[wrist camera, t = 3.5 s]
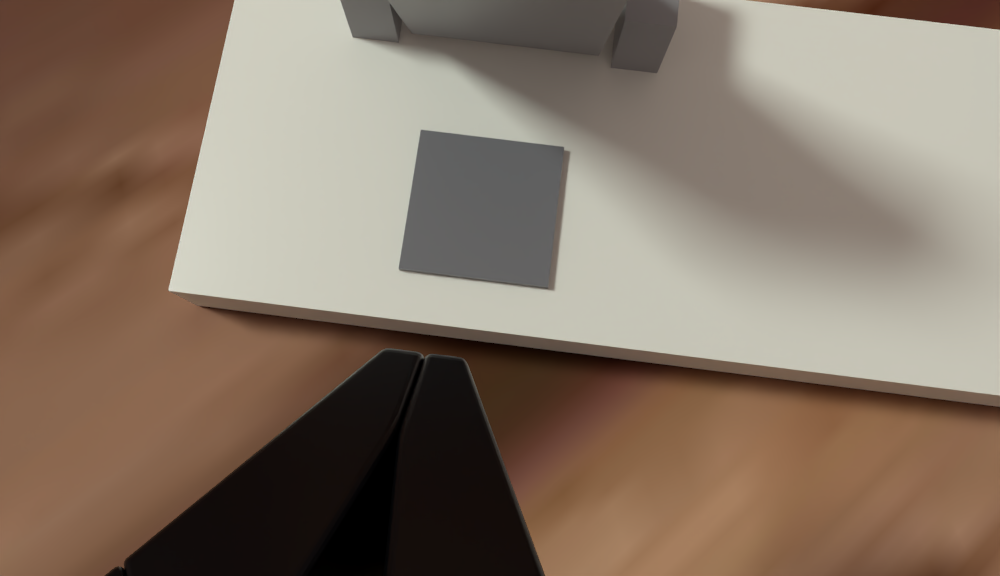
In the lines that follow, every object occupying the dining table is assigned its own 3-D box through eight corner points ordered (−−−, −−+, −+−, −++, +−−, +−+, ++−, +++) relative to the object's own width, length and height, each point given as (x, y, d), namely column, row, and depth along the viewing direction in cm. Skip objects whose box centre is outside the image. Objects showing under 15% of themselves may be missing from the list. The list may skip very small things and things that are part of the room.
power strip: (1357, 452, 16) (1573, 450, 13) (197, 305, 17) (125, 268, 13) (1315, 106, 18) (1497, 28, 15) (267, -16, 18) (218, -118, 15)
